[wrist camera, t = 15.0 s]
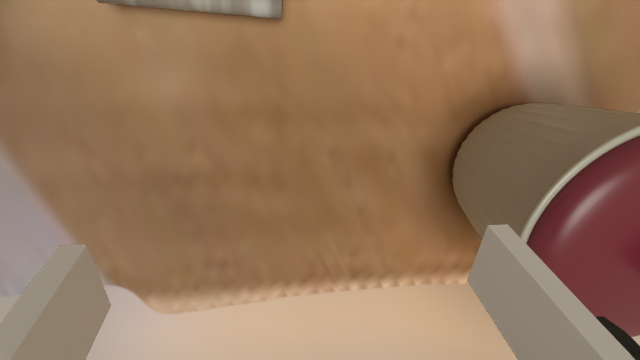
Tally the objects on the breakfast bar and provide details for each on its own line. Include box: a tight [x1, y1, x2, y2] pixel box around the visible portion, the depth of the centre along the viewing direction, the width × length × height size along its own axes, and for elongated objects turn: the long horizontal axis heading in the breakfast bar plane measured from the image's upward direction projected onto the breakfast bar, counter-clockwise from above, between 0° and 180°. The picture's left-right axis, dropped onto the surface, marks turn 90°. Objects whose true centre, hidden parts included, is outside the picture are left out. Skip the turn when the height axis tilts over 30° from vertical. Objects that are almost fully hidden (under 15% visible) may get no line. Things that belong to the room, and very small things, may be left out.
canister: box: [452, 103, 640, 337], centre depth 29 cm, size 18×18×21 cm
